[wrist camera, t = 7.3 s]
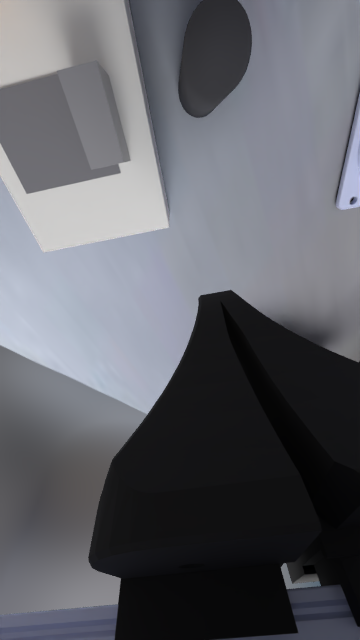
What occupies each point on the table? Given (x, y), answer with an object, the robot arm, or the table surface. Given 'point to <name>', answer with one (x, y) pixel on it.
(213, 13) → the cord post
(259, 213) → the table surface
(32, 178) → the breaker panel
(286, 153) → the table surface
